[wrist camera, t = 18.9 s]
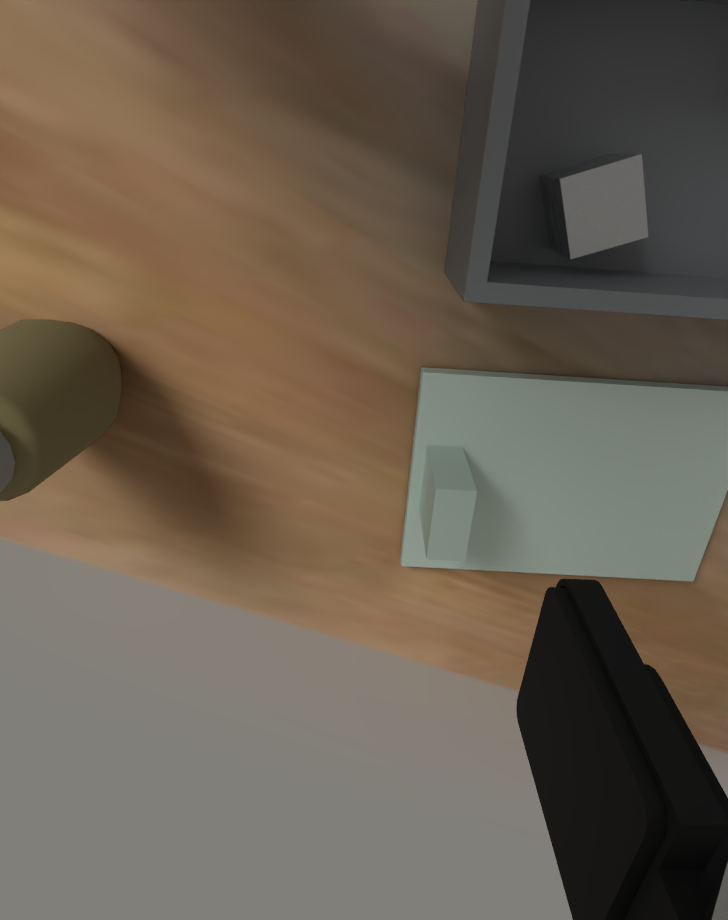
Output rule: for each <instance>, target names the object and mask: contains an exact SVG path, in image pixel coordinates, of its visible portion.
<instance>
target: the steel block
mask: <svg viewBox="0 0 728 920" xmlns="http://www.w3.org/2000/svg"><path fill="white" fill-rule="evenodd" d="M540 183H541V190H542V197H543V204H544V210H545V217H546V224H547V231H548V237H549V244H550V249H552V250H554V251H556V252H558V253H560V254H562V255H563V256H565V257H567V258H569V259H574V258H577V257H581V256H584V255H588V254H591V253H595V252H598V251H602V250H605V249H609V248H612V247H616V246H619V245H623V244H626V243H629V242H633V241H636V240H640V239H643V238H647V237H648V225H647V213H646V200H645V188H644V175H643V163H642V154H619V153H612V154H609V155H605V156H602V157H599V158H596V159H592V160H589V161H586V162H583V163H579V164H576V165H573V166H569V167H566V168H563V169H560V170H556V171H553V172H550V173H547V174H543V175H540Z"/></svg>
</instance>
